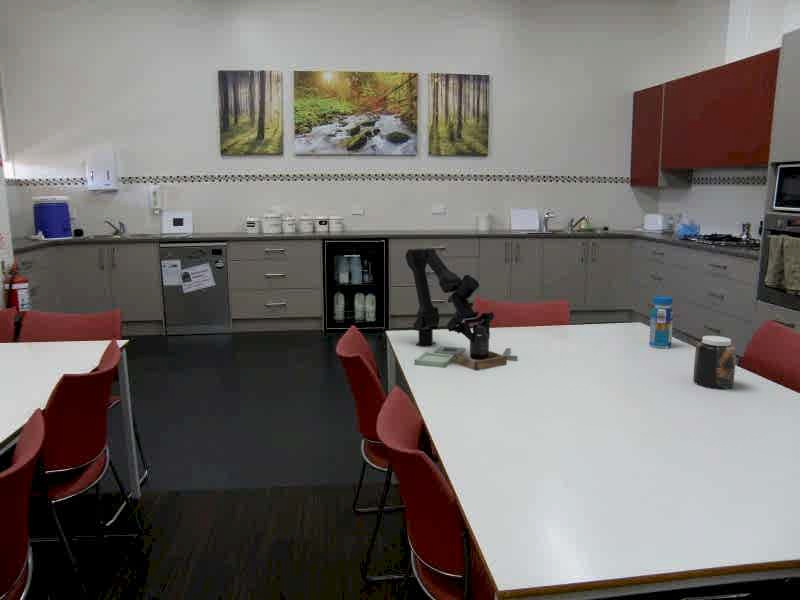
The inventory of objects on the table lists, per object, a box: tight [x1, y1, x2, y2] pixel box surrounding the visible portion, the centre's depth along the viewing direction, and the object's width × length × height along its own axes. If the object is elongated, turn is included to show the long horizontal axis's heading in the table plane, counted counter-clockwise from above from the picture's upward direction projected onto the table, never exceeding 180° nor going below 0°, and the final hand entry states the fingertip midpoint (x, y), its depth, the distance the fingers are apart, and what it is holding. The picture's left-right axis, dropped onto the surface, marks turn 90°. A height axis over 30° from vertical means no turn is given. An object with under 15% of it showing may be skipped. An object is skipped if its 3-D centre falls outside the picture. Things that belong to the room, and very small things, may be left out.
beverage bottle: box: [648, 295, 674, 349], centre depth 255 cm, size 8×8×20 cm
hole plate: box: [432, 345, 467, 356], centre depth 248 cm, size 10×10×1 cm
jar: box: [692, 335, 737, 389], centre depth 207 cm, size 12×12×15 cm
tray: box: [414, 351, 455, 368], centre depth 236 cm, size 12×12×2 cm
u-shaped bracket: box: [454, 350, 508, 371], centre depth 233 cm, size 12×14×3 cm
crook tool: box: [502, 347, 518, 362], centre depth 243 cm, size 12×6×2 cm, turn 162°
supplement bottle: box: [469, 324, 490, 361], centre depth 233 cm, size 7×7×12 cm
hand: (481, 340), depth 232 cm, fingers closed on supplement bottle, 7 cm apart
